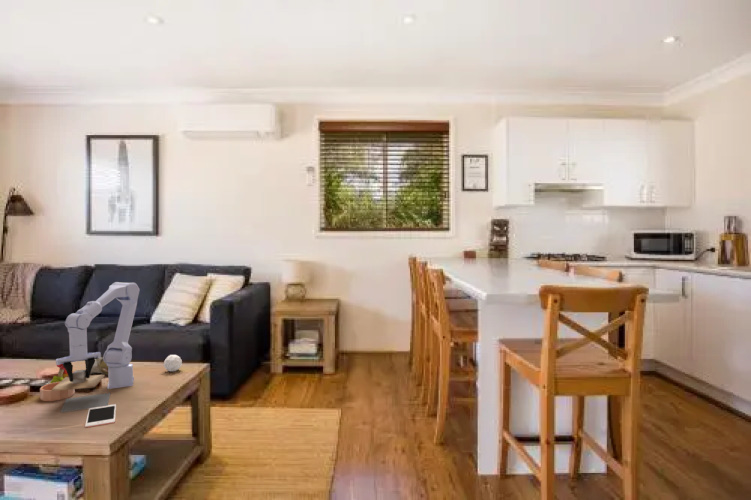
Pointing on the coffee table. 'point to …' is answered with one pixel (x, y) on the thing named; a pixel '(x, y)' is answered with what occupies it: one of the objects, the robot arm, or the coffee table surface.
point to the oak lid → (79, 381)
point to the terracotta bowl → (54, 392)
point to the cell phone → (101, 415)
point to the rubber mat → (85, 402)
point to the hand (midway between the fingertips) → (79, 379)
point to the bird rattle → (60, 374)
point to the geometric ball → (172, 363)
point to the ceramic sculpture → (99, 366)
